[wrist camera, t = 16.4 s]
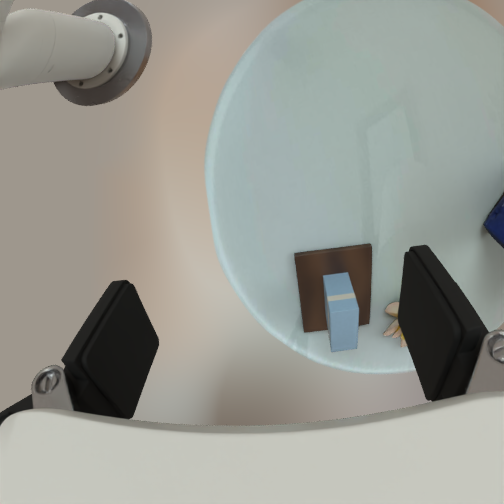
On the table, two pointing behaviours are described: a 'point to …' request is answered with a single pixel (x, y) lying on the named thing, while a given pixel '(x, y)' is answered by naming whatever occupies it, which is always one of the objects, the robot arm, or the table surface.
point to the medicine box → (341, 312)
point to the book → (496, 222)
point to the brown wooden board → (328, 263)
